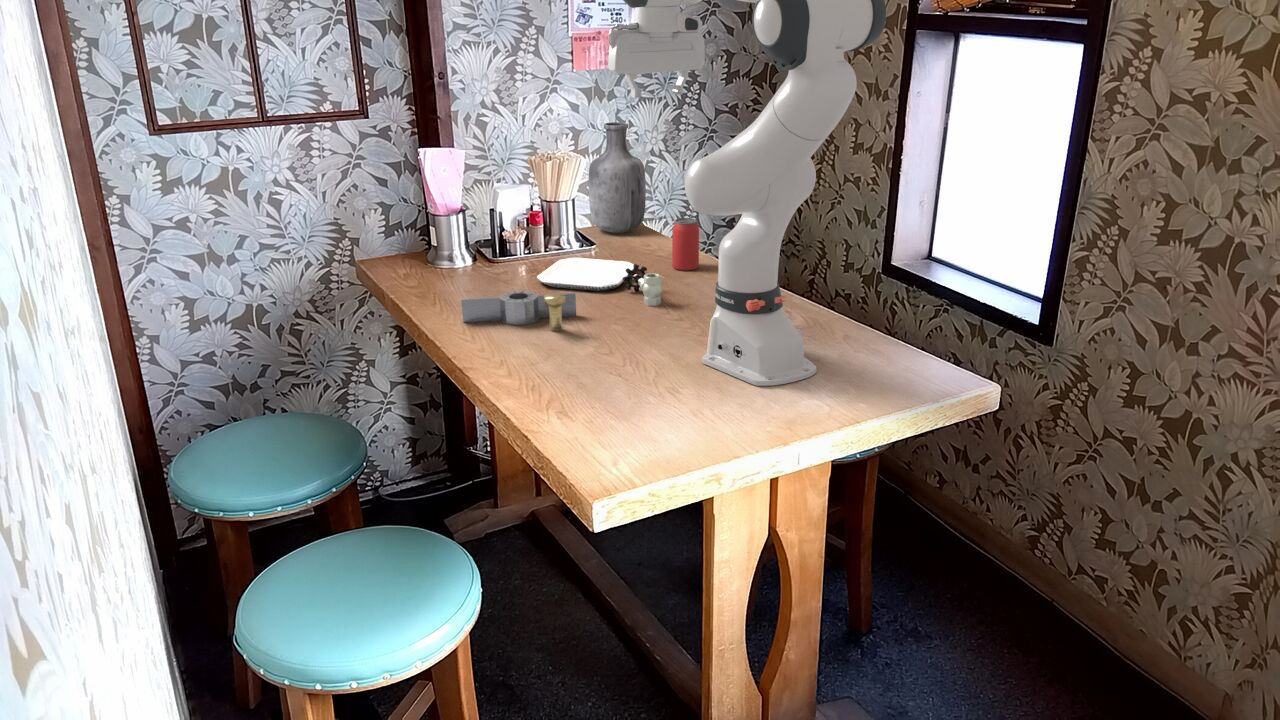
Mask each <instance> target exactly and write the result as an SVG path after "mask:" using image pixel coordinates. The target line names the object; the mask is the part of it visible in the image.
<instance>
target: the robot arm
mask: <svg viewBox="0 0 1280 720" xmlns="http://www.w3.org/2000/svg"><path fill="white" fill-rule="evenodd" d="M622 1H623V2H624V3H625V5H627V6H628V7H630V8H631V9H633V13H634V14H633V15H634V16H633V17H634V20H633V22H631V23H616V24H615V26H612V27H611V28H610V30H609V32H608V43H609V47H608V48H609V50H608V58H607V59H608V62H607V63H608V65H607V68H608V70H609V71H610V72H611V74H614V75H624V76H625V79H624V80H625V81H626V82H627V85H628V86H629V87H630V95H631V96H630V97H631V98H634V99H635V98H641V97H642V95H643V94H642V92H643V91H642V90H643V89H642V87H638V85H637V83H636V81H635V80H637V74H650V73H664V72H666V73H668V72H676V75H677V76H678V78H677V80H676V83H675V84H672V90H671V91H672V94H673V95H675V96H676V95H683V93H684V85H685V83H686V81H687V80H688V77H689V71H697V70H698V71H699V70H702V69H703V67H704V66H705V63H706V49H705V48H706V47H705V40H704V36H703V34H702V33H701V31H702V29H703V21H702V19H699V18H696V17H694V16H691V15H688V14H686V13H683V12H680V11H681V10H680V9H681V7H680V6H691V5H696V4H699V3H702V2H703V1H704V0H622ZM737 1H739V2H746V3H751V4H752V3H753V4H754V6H753V7H754V8H753V10H752V18H751V27H752V31H753V32H752V33H753V35H754V38H755V39H756V42H757V43H758V45H759V46H760V48H761V50H762V51H763V52H764V54H765V55H766V56H767V57H769V58H770V59H771V63H772V64H773V65H774V66H775V67H776V68H778V69H779V70H783V71H788V74H787V76H786V77H785V79H784V81H783V82H782V84H781V85H780V86H779V88H778V90H777V91H776V92H775V93H774V95H773V96H772V98H771V99H770V100H769V102H768V103H767V105H766V106H765V107H764V108H763V110H762V111H761V113H760V114H759V115H758V116H757V117H756V119H755V120H753V122H752V123H751V124H750V125H749V126H747V127H746V128H745V129H743V130H742V131H741V132H739V133H738V134H737V135H736V136H735V137H733V138H732V139H730V140H729V141H728V142H726V143H725V144H724V145H722V146H721V147H720V148H718V149H716V150H714V151H712V152H711V153H710V154H708V155H706V156H704V157H701V158H699V159H698V160H694V161H693V162H692V163H691V164H690V165H689V168H688V170H687V171H686V175H685V179H684V193H685V196H686V199H687V201H688V203H689V205H690V206H691V207H692V208H693V210H694V211H696V212H697V213H698V214H700V215H708V216H714V217H715V216H716V217H717V216H719V217H728V216H735V215H741V217H739V218H740V219H739V220H738V222H737V224H736V225H735V226H734V227H733V228H732V229H731V230H730V231H729V232H728V233H727V234H725V235H724V236H723V237H722V240H721V241H720V243H719V247H718V263H717V265H718V266H717V267H718V268H717V269H718V270H717V271H718V273H717V282H716V283H715V289H714V302H715V304H716V308H715V310H714V312H713V315H712V317H711V318H710V322H709V323H710V324H709V329H708V340H707V348H706V349H707V350H706V353H705V354H704V355H703V356H702V358H701V362H702V364H704V365H707V366H709V367H710V368H713V369H716V370H717V371H720V372H723V373H725V374H728V375H730V376H732V377H735V378H737V379H739V380H741V381H744V382H747V383H749V384H751V385H753V386H757V387H758V386H759V387H763V386H765V387H768V386H769V387H770V386H780V385H784V384H790V383H794V382H797V381H801V380H805V379H807V378H810V377H812V376H814V375H815V374H816V373H817V372H818V369H817V365H815V364H814V363H813V362H812V361H810V360H809V359H808V358H807V357H806V356H805V344H804V339H803V333H802V330H801V329H800V328H798V327H797V328H796V327H795V325H794V323H793V322H792V321H791V319H790V318H789V317H788V315H787V313H786V312H785V309H784V308H783V306H784V302H786V300H783V299H785V298H786V297H787V296H786V295H782V291H781V288H780V284H779V283H778V279H779V278H778V277H779V265H780V264H779V263H780V262H779V261H780V253H781V248H782V247H781V246H782V242H783V239H784V235H785V232H786V230H787V227H788V226H789V224H790V222H791V219H792V217H793V216H794V215H795V213H796V211H797V210H798V208H799V207H800V206H801V205H802V204H803V202H805V201H806V200H807V199H808V198H809V197H810V196H811V194H812V193H813V191H814V188H815V185H816V180H817V172H816V167H815V163H814V161H813V159H812V157H813V156H814V154H815V153H816V152H817V150H818V149H819V148H820V147H821V146H822V144H823V143H824V142H825V140H826V139H828V137H829V136H830V135H831V133H832V132H833V131H834V130H835V128H836V127H837V125H838V124H839V123H840V122H841V120H842V118H843V117H844V115H845V113H846V112H847V110H848V109H849V108H848V107H849V106H850V104H851V102H852V100H853V98H854V97H855V96H854V95H855V93H856V91H857V84H858V83H857V76H856V73H855V71H854V68H853V67H852V65H851V64H850V63H849V62H848V61H847V60H846V59H845V56H844V55H845V52H856V51H859V50H862V49H865V48H866V47H868V46H870V45H872V44H873V43H875V42H876V41H877V40H878V39H879V37H880V36H881V35H882V33H883V32H884V31H883V30H884V28H885V25H886V21H887V6H886V2H885V0H737Z"/></svg>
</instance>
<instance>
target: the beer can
mask: <svg viewBox="0 0 1280 720" xmlns="http://www.w3.org/2000/svg"><path fill="white" fill-rule="evenodd" d="M671 232H672V233H671V235H672V236H671V237H672V238H671V239H672V243H671V244H672V245H671V246H672V247H671V251H672V255H671V258H672V259H671V262H672V263H671V265H672V267H673V269H675V270H677V271H684V272H688V271H694V270H697V268H698V267H699V263H700V262H699V261H700V260H699V259H700V253H699V252H700V226H699V224H698V220H697V218H696V219H695V218H690V217H681V218H676V219H674V224H673V226H672V231H671Z"/></svg>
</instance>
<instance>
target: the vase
mask: <svg viewBox="0 0 1280 720" xmlns="http://www.w3.org/2000/svg"><path fill="white" fill-rule="evenodd" d="M603 128H604V129H605V134H606V137H605V139H606V147H605V149H604V151H603V153H602V154H601V155H600V156H598V157H597V158H594V160H592V161H591V163H590V165H589V168H588V201H589V203H588V204H589V210H590V211H589V212H590V217H591V220H592V223H593V224H594V226H596V227H597V228H598V229H600V230H602V231H605V232H608V233H614V234H615V233H616V234H618V233H620V234H621V233H627V232H631V231H633V230H635V229H636V228H638V227H639V226H640V225H641V224H642V223H643V221H644V218H645V215H646V214H645V213H646V212H645V211H646V201H647V200H646V199H647V198H646V196H647V194H646V193H647V189H646V187H647V185H646V171H645V165H644V163H643V161H642V160H641V159H640V158H639V157H637V156H634V155H632V153H631V152H630V151H629V149H628V147H627V130H628V128H629V123H628V122H622V121H621V122H620V121H619V122H618V121H616V122H615V121H614V122H613V121H612V122H606V123H603Z"/></svg>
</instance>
